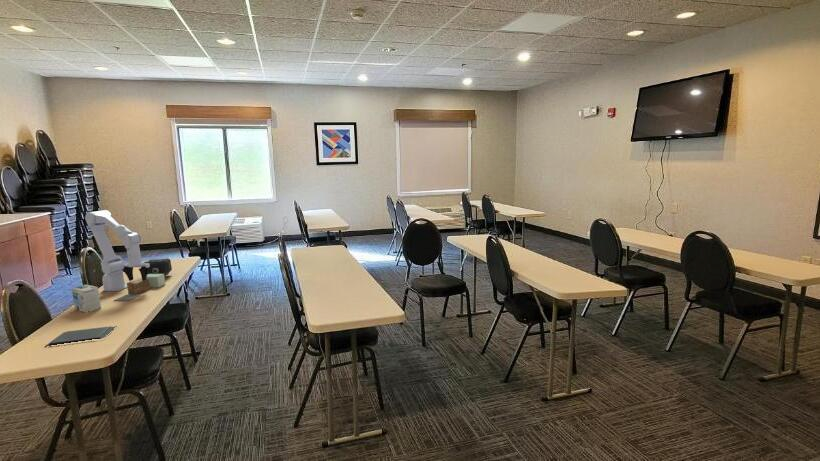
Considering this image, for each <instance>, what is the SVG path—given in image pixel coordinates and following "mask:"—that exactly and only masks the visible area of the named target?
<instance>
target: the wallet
mask: <svg viewBox="0 0 820 461" xmlns="http://www.w3.org/2000/svg"><path fill="white" fill-rule="evenodd" d="M117 326H118V325H115V326H114V327H113V326H111V325H110V326H103V327H95V328H92V327H91V328H84V329H78V330H68V331H64V332H62V333H61V334H59V335H58V336H57V337H55V338H54V339H53V340H51V341H50V342H49V343H47V344H46V345H45V346H44V347H47V346H51V345H57V344H64V343H71V342H78V341H85V340H92V339H102V338H104V337H105V336H106V335H108V334H109V333H110V332H111V331H113V330H114V328H115V327H117ZM117 328H118V327H117ZM114 331H115V330H114ZM114 331H113V332H114ZM111 333H112V332H111ZM111 333H110V334H111ZM110 334H109V335H110ZM109 335H108V336H109Z"/></svg>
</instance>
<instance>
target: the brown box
mask: <svg viewBox="0 0 820 461" xmlns="http://www.w3.org/2000/svg"><path fill="white" fill-rule="evenodd" d="M126 286H127V288H126V289H127V293H128V294H127V295H140V294H141V293H144V292H145V291H147V290H148V291H149V290H150V289H151V287H150V286H149V279H148V278H147V279H146V280H145V281H143V280H142V277H140V278H135V279H133V280H131V281H129V282H126Z"/></svg>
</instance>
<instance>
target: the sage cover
mask: <svg viewBox="0 0 820 461" xmlns="http://www.w3.org/2000/svg"><path fill="white" fill-rule="evenodd" d="M165 277H166V276H165ZM165 277H164V274H148V275H147V278H148V279H149V286H150V288H160V287H161V286H164V285H166V278H165Z"/></svg>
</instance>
